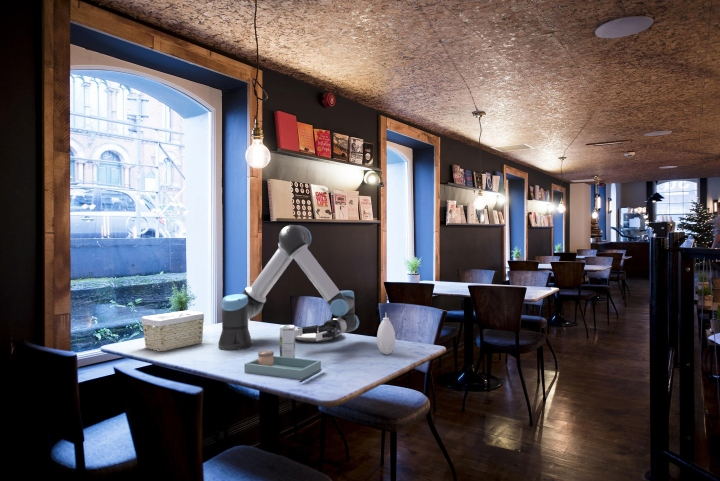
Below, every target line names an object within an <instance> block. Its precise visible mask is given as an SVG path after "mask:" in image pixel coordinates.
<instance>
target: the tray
mask: <svg viewBox="0 0 720 481" xmlns="http://www.w3.org/2000/svg"><path fill="white" fill-rule="evenodd" d="M273 364H274V367H273V366H264V365H259V362H258V358H256V359H253V360H250V361H249V362H248V361H247V362H246V363H244V367H243V368H244V369H243V370H244V373H247V374H256V375H264V376H272V377H280V378H288V379H293V380H298V382H299V383H302V382H305V381H306V380H308V379H310V378H312V377H314V376H316V375H317V374H319V373H321V372H322V360H319V359H316V360H314V359H307V358H299V357H298V358H297V357H295V358H290V357H281V356H280V355H279V356H278V355H273Z"/></svg>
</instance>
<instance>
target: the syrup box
mask: <svg viewBox="0 0 720 481" xmlns="http://www.w3.org/2000/svg"><path fill="white" fill-rule="evenodd" d="M295 329H296V325H294V324H283V325H280V327H279V356H281V357H290V358H296V339H295Z"/></svg>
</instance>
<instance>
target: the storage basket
mask: <svg viewBox="0 0 720 481" xmlns="http://www.w3.org/2000/svg"><path fill="white" fill-rule="evenodd" d="M204 319H205V313H204V312H200V311H194V310H193V311H192V310H181V311H174V312H169V313H161V314H152V315H144V316H142V317H141V325H142V330H143V337H144V344H145V348H146V349H149V350H152V349H153V351H156V350H157V352H168V351H169V350H175V349H179V348H184V347H185V348H186V347H189V346H193V345H198V344H201V343H203V337H204V336H203V335H204V334H203V333H204V322H205V320H204Z"/></svg>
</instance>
